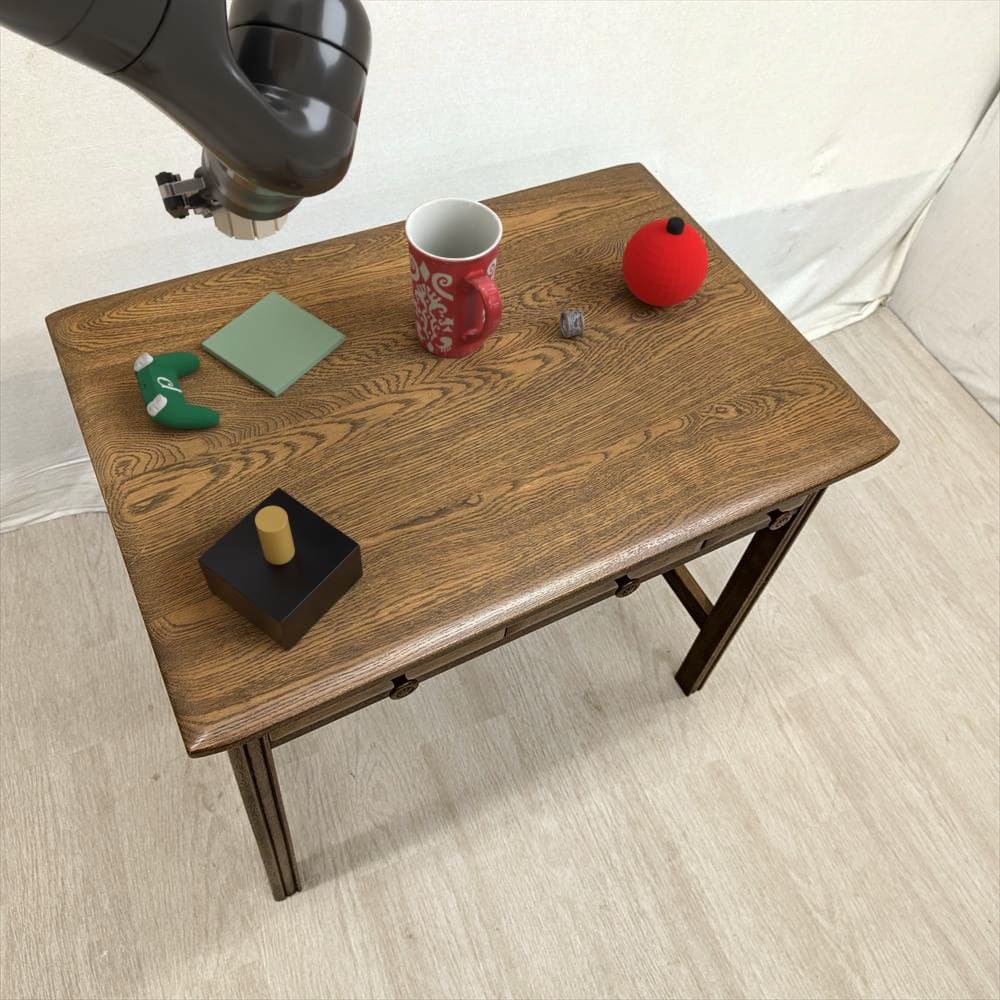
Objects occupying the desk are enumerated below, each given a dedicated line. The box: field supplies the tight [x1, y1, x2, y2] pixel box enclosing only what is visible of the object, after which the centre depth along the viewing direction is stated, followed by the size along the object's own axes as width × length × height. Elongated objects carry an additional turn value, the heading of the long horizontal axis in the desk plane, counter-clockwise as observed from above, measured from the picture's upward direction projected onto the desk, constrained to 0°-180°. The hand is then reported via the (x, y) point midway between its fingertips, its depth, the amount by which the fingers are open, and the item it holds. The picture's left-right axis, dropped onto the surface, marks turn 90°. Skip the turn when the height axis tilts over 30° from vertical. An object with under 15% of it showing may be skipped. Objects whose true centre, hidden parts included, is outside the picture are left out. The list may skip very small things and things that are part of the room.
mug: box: [404, 196, 504, 359], centre depth 87 cm, size 13×9×14 cm
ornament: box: [621, 216, 709, 308], centre depth 95 cm, size 9×9×10 cm
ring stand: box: [196, 486, 364, 652], centre depth 71 cm, size 9×9×10 cm
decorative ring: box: [559, 308, 585, 339], centre depth 93 cm, size 3×2×3 cm
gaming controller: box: [133, 351, 221, 430], centre depth 84 cm, size 9×4×6 cm
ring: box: [212, 211, 289, 241], centre depth 74 cm, size 6×6×4 cm
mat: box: [201, 290, 346, 398], centre depth 90 cm, size 10×10×1 cm
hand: (243, 196), depth 76 cm, fingers closed on ring, 6 cm apart
